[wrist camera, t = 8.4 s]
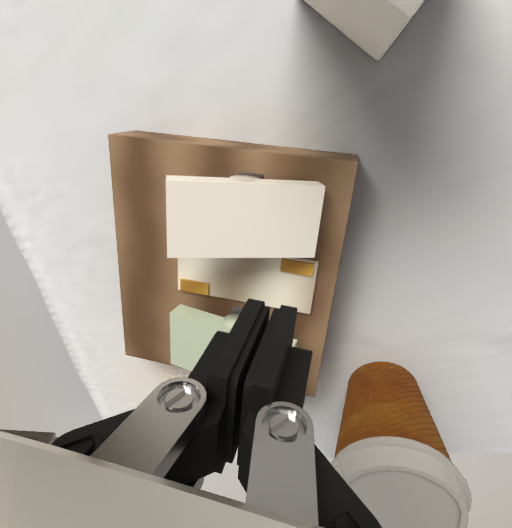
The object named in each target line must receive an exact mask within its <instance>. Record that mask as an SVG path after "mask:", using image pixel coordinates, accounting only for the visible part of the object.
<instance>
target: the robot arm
mask: <svg viewBox="0 0 512 528" xmlns="http://www.w3.org/2000/svg"><path fill="white" fill-rule="evenodd" d="M269 314H270V307H269V306H265V302H264V301H260V300H255V299H250V298H249V299H248V300H247V302H246V304H245V305H244V307H243V309H242V311H241V313H240V314H239V316H238V318H237V320H236V322H235V323H234V325H233V327H232V329H231V330H230V332H229V333H227V332H223V331H217V332H216V333H215V335H214V336H213V338H212V339H211V341H210V343H209V344H208V346H207V348H206V349H205V351H204V352H203V354H202V356H201V357H200V359H199V361H198V362H197V364H196V365H195V367H194V369H193V370H192V372H191V373H190V375H189V377H188V378H186V377H178V378H173V379H169V380H167V381H164V382H162V383H161V384H160V385H158V386H157V387H156V388H155V389H154V390H153V391H152V392H151V393H150V394H149V395H148V396H147V397H146V399H145V400H144V401H143V402H142V403H141V404H140V405H139V406H138V407H137V408H136V409H133V410H131V411H128V412H125V413H122V414H119V415H116V416H113V417H110V418H107V419H104V420H101V421H98V422H95V423H92V424H89V425H86V426H83V427H80V428H78V429H74V430H72V431H70V432H67V433H65V434H63V435H62V436H60V437H56V435H55V433H52V432H35V431H18V430H0V528H382V527H381V525H380V524H379V522H378V521H377V519H376V518H375V516H374V515H373V514H372V513H371V512H370V510H369V509H368V508H367V507H366V506H365V504H364V503H363V502H362V501H361V500H360V498H359V497H358V496H357V495H356V494H355V492H354V491H353V490H352V489H351V488H350V486H349V485H348V484H347V483H346V481H345V480H344V479H343V478H342V477H341V475H340V474H339V473H338V472H337V471H336V469H335V468H334V467H333V466H332V465H331V463H330V462H329V461H328V460H327V459H326V457H325V456H324V455H323V454H322V453H321V451H320V450H319V449H318V448H317V447H316V445H315V444H314V430H313V423H312V420H311V418H310V416H309V415H308V413H307V412H305V411H304V410H303V404H304V398H305V393H306V387H307V382H308V376H309V370H310V365H311V359H312V353H313V351H311V350H306V349H302V348H297V347H292V344H293V337H294V331H295V324H296V317H297V308H296V307H291V306H286V305H281V307H280V309H279V308H274V310H273V312H272V315H271V317H270V319H269ZM237 448H238V457H237V465H239V471H238V479H239V480H240V483H241V484H242V486H243V488H244V490H245V491H246V493H247V496H246V503H243V502H240V501H236V500H233V499H230V498H226V497H223V496H219V495H217V494H213V493H210V492H207V491H203V490H200V489H201V487H202V484H203V481H204V476H206V475H209V474H211V473H213V472H217V473H222V471H223V468H224V466H225V463H226V462H229V463H232V462H233V460H234V457H235V454H236V451H237Z"/></svg>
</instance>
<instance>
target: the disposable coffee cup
mask: <svg viewBox="0 0 512 528" xmlns="http://www.w3.org/2000/svg"><path fill="white" fill-rule="evenodd" d="M437 430H438V429H437V428H436V426H435V423H434V421H433V418H432V416H431V414H430V411H429V410H428V407H427V405H426V403H425V401H424V399H423V396H422V394H421V391H420V389H419V387H418V385H417V382H416V380H415V378H414V377H413V376H412V374H411V373H410V372H409V371H407V370H406V369H405V368H403V367H401V366H399V365H396V364H393V363H389V362H372V363H369V364H365V365H363V366H362V367H360V368H358V369H357V370H356V371H355V372H354V373H353V374H352V375H351V377H350V379H349V383H348V389H347V395H346V400H345V405H344V410H343V415H342V421H341V425H340V431H339V436H338V442H337V447H336V452H335V457H334V459H333V461H332V463H331V465H332V466H333V467H334V468H335V469H336V471H337V472H338V473H339V474H340V475H341V477H342V478H343V479H344V480H345V481H346V483H347V484H348V485H349V486H350V488H351V489H352V490H353V491H354V492H355V494H356V495H357V496H358V497H359V498H360V500H361V501H362V502H363V503H364V504H365V506H366V507H367V508H368V509H369V510H370V512H371V513H372V514H373V515H374V516H375V518H376V519H377V521H378V522H379V524H380V525H381V527H382V528H467V525H468V513H469V511H470V507H471V493H470V489H469V487H468V484H467V482H466V480H465V478H464V477H463V476H462V474H461V473H460V472H459V470H458V469H457V468H456V467H455V466H454V464H453V463H452V461H451V460H450V458H449V455H448V453H447V451H446V448H445V446H444V444H443V441H442V439H441V437H440V434H439V432H438V431H437Z"/></svg>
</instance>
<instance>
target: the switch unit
mask: <svg viewBox="0 0 512 528" xmlns="http://www.w3.org/2000/svg"><path fill="white" fill-rule="evenodd" d="M108 139H109V151H110V164H111V176H112V189H113V201H114V214H115V226H116V239H117V251H118V264H119V276H120V289H121V301H122V314H123V326H124V339H125V351H126V355H129V356H133V357H138V358H142V359H147V360H151V361H156V362H160V363H165V364H169V365H173V364H171V354H170V312H171V311H172V310H174V309H175V308H176V307H177V306H179V305H180V304H182V305H185V306H188V307H192V308H195V309H198V310H201V311H205V312H208V313H211V314H214V315H218V316H221V317H225V316H227V315H230V314H240V313H241V311H242V309H243V307H244V305H245V304H246V302H247V300H248V299H249V298H250V299H255V300H260V301H264V302H265V306H269V307H270V314H269V319H270V317H271V315H272V312H273V310H274V308H279V309H280V307H281V305H286V306H291V307H296V308H297V317H296V324H295V331H294V337H293V339H296V340H297V348H302V349H306V350H311V351H313V353H312V359H311V365H310V370H309V376H308V382H307V387H306V393H305V395H308V396H313V397H315V391H316V386H317V381H318V375H319V370H320V365H321V359H322V354H323V349H324V343H325V338H326V333H327V327H328V322H329V317H330V311H331V306H332V301H333V295H334V290H335V285H336V279H337V274H338V269H339V263H340V258H341V253H342V247H343V242H344V237H345V231H346V226H347V221H348V216H349V210H350V205H351V200H352V194H353V189H354V184H355V178H356V173H357V168H358V157H357V155H353V154H344V153H335V152H326V151H317V150H308V149H298V148H289V147H280V146H271V145H262V144H253V143H244V142H235V141H226V140H217V139H208V138H199V137H190V136H181V135H172V134H162V133H153V132H144V131H129V132H122V133H114V134H108ZM166 175H176V176H200V177H225V178H230V176H234V175H248V176H254V177H258V178H260V179H274V180H299V181H318V182H320V183H321V184H323V185H324V186H326V187H325V194H324V200H323V206H322V213H321V219H320V226H319V232H318V238H317V245H316V251H315V258H167V224H166ZM174 366H176V365H174Z"/></svg>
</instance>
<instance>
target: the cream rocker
mask: <svg viewBox="0 0 512 528" xmlns="http://www.w3.org/2000/svg"><path fill="white" fill-rule="evenodd" d="M325 187H326V186H324V185H323V184H321V183H320V182H318V181H299V180H274V179H260V178H258V177H254V176H248V175H234V176H230V178H225V177H200V176H176V175H166V224H167V258H315V251H316V245H317V238H318V232H319V226H320V219H321V213H322V206H323V200H324V194H325Z"/></svg>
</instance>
